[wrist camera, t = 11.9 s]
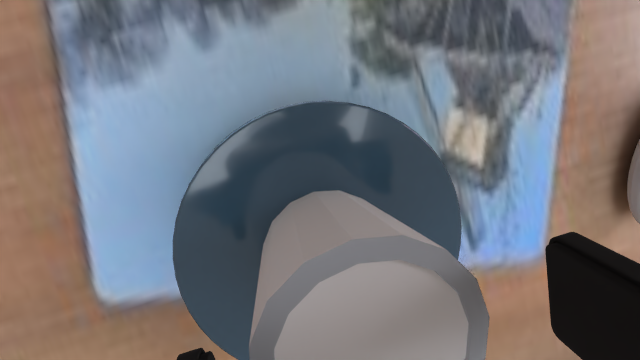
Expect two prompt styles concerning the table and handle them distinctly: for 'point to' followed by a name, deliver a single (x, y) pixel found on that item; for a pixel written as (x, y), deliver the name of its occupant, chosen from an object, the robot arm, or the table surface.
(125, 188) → the table surface
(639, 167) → the game controller
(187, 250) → the stand
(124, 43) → the table surface
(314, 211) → the shot glass
